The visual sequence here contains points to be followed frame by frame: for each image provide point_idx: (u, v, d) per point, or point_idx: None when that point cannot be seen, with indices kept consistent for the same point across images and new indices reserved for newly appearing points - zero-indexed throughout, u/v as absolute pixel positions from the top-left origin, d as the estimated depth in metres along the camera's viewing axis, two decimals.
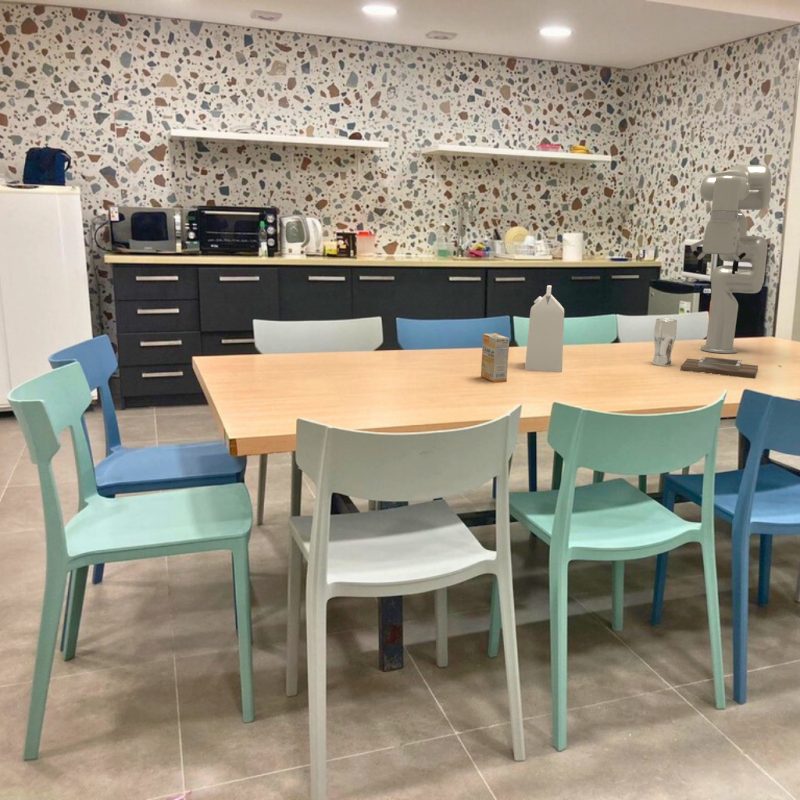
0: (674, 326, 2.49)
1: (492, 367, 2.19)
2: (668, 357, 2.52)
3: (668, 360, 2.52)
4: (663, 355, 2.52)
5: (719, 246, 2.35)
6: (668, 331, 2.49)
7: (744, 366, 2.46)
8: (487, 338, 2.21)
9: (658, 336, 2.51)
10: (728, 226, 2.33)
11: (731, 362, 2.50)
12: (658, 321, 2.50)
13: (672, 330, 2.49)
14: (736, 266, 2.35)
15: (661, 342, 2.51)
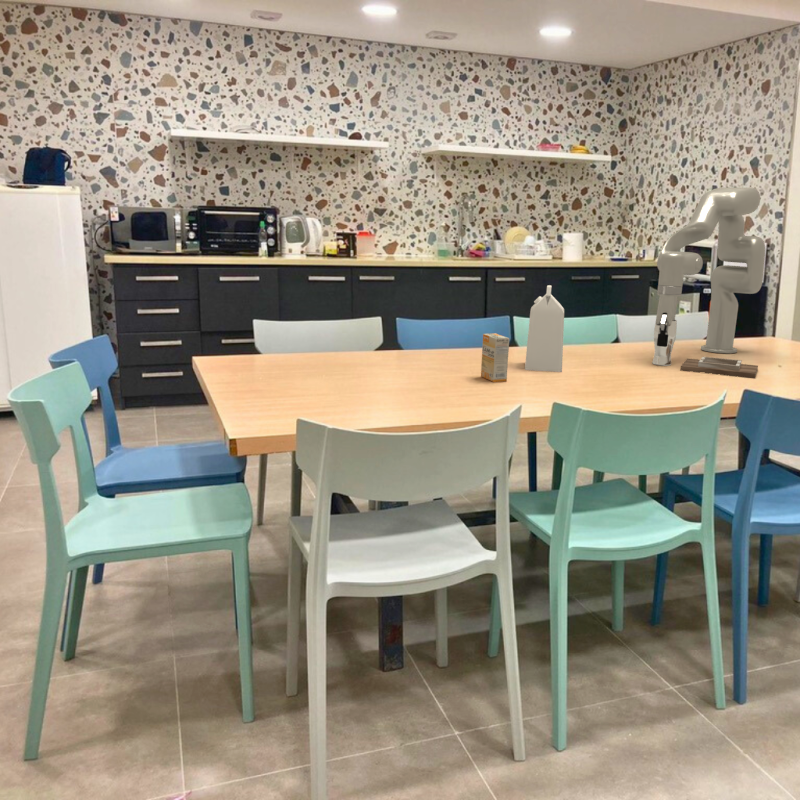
0: (674, 326, 2.49)
1: (492, 367, 2.19)
2: (668, 357, 2.52)
3: (668, 360, 2.52)
4: (663, 355, 2.52)
5: (674, 318, 2.50)
6: (668, 331, 2.49)
7: (744, 366, 2.46)
8: (487, 338, 2.21)
9: None
10: None
11: (731, 362, 2.50)
12: None
13: (672, 330, 2.49)
14: None
15: None
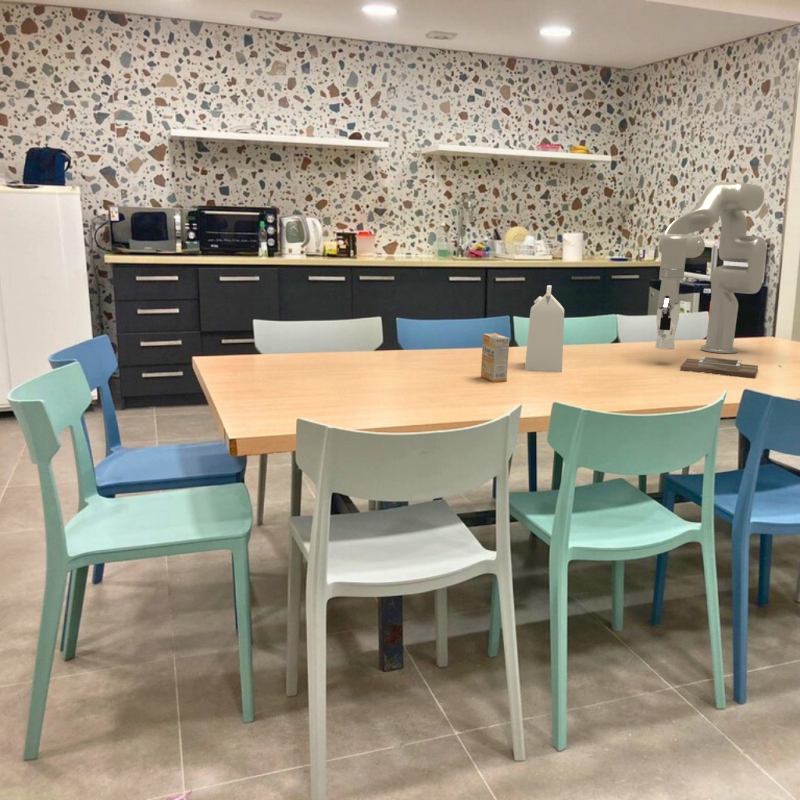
0: (677, 309, 2.48)
1: (492, 367, 2.19)
2: (671, 340, 2.51)
3: (671, 343, 2.52)
4: (666, 339, 2.51)
5: (676, 301, 2.49)
6: None
7: (744, 366, 2.46)
8: (487, 338, 2.21)
9: None
10: (679, 282, 2.49)
11: (731, 362, 2.50)
12: None
13: (675, 313, 2.48)
14: None
15: None
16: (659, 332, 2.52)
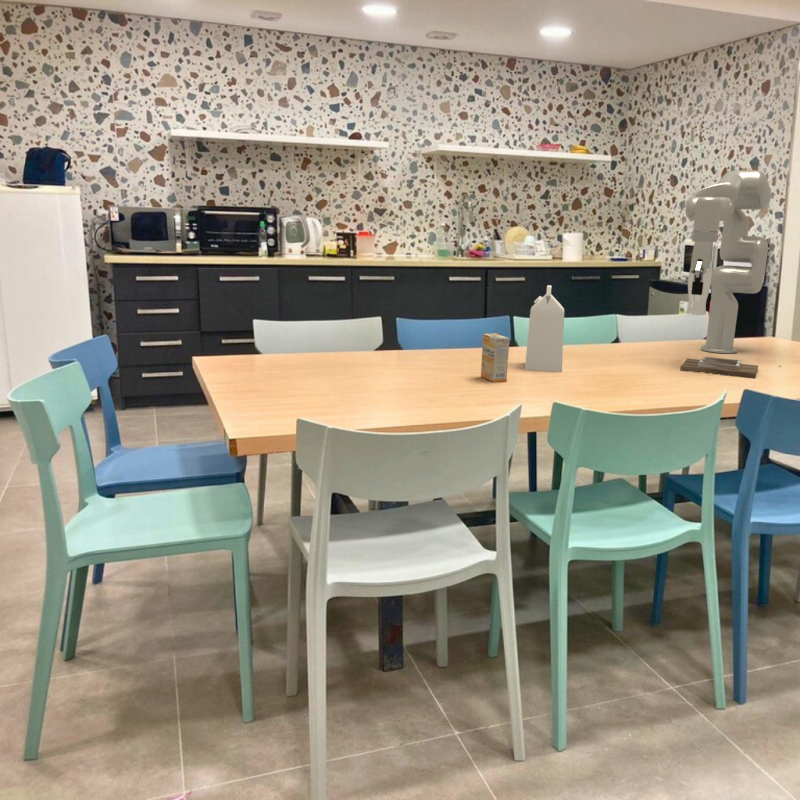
0: (709, 273, 2.41)
1: (492, 367, 2.19)
2: (703, 306, 2.44)
3: (703, 309, 2.44)
4: (697, 304, 2.44)
5: (709, 265, 2.42)
6: None
7: (744, 366, 2.46)
8: (487, 338, 2.21)
9: None
10: (712, 246, 2.42)
11: (731, 362, 2.50)
12: None
13: (707, 277, 2.41)
14: None
15: None
16: (690, 297, 2.45)
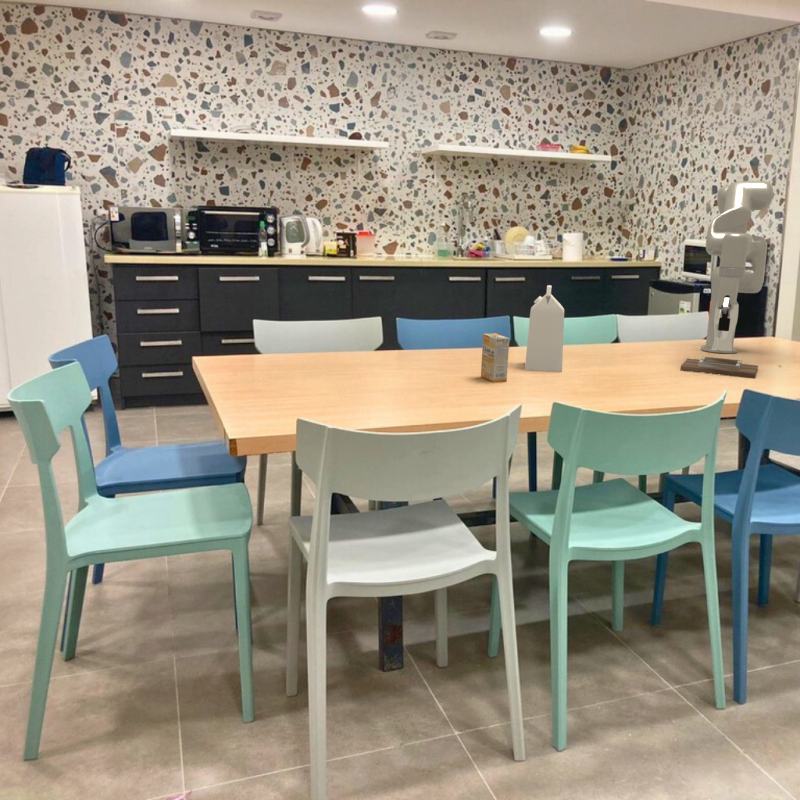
0: (736, 309, 2.40)
1: (492, 367, 2.19)
2: (729, 342, 2.42)
3: (729, 345, 2.42)
4: (724, 340, 2.42)
5: (735, 301, 2.41)
6: None
7: (744, 366, 2.46)
8: (487, 338, 2.21)
9: None
10: None
11: (731, 362, 2.50)
12: None
13: (734, 314, 2.39)
14: None
15: None
16: (717, 333, 2.43)
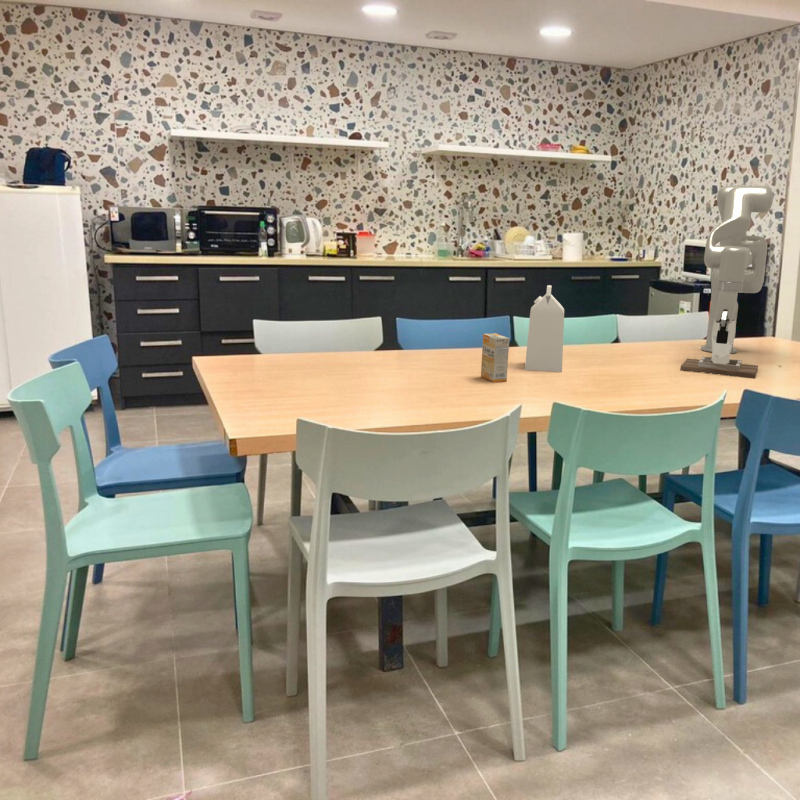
0: (733, 326, 2.41)
1: (492, 367, 2.19)
2: (727, 358, 2.44)
3: (727, 361, 2.44)
4: (722, 356, 2.44)
5: (734, 315, 2.42)
6: None
7: (744, 366, 2.46)
8: (487, 338, 2.21)
9: None
10: None
11: (731, 362, 2.50)
12: (717, 321, 2.42)
13: (731, 330, 2.41)
14: None
15: (720, 343, 2.43)
16: (714, 349, 2.45)
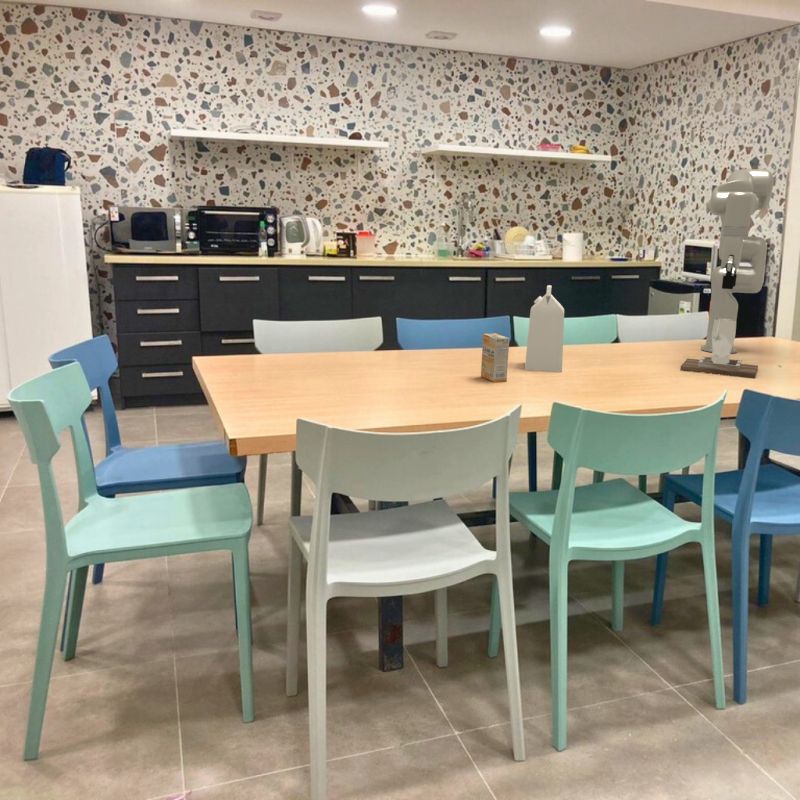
0: (734, 326, 2.41)
1: (492, 367, 2.19)
2: (727, 358, 2.44)
3: (727, 361, 2.44)
4: (722, 356, 2.44)
5: (739, 261, 2.39)
6: (727, 331, 2.41)
7: (744, 366, 2.46)
8: (487, 338, 2.21)
9: (717, 336, 2.43)
10: None
11: (731, 362, 2.50)
12: (717, 321, 2.42)
13: (732, 330, 2.41)
14: (733, 278, 2.46)
15: (720, 343, 2.43)
16: (715, 349, 2.45)
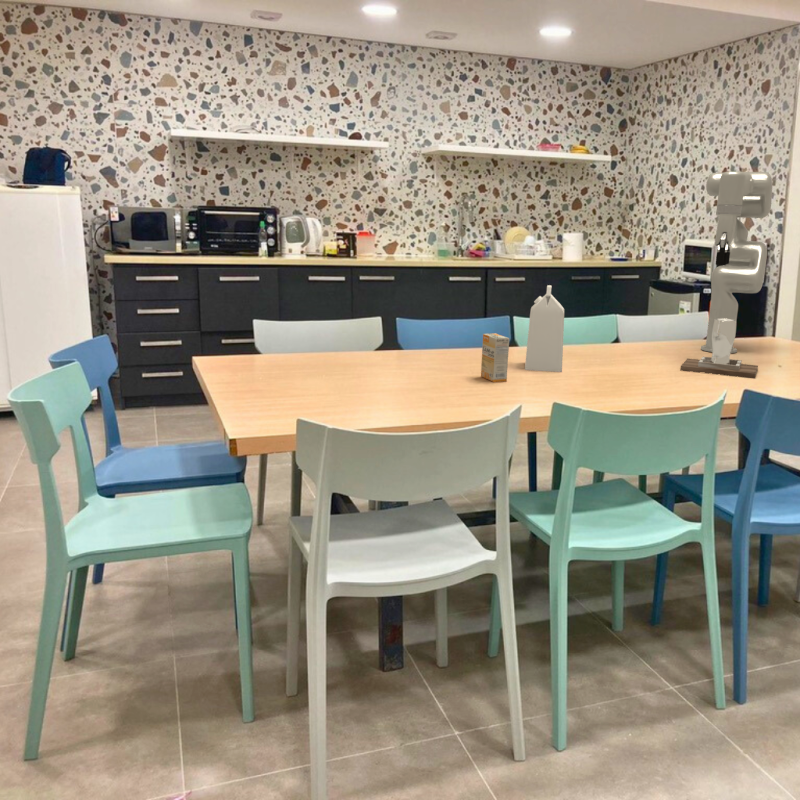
0: (734, 326, 2.41)
1: (492, 367, 2.19)
2: (727, 358, 2.44)
3: (727, 361, 2.44)
4: (722, 356, 2.44)
5: (733, 239, 2.49)
6: (727, 331, 2.41)
7: (744, 366, 2.46)
8: (487, 338, 2.21)
9: (717, 336, 2.43)
10: None
11: (731, 362, 2.50)
12: (717, 321, 2.42)
13: (732, 330, 2.41)
14: (727, 256, 2.55)
15: (720, 343, 2.43)
16: (715, 349, 2.45)
